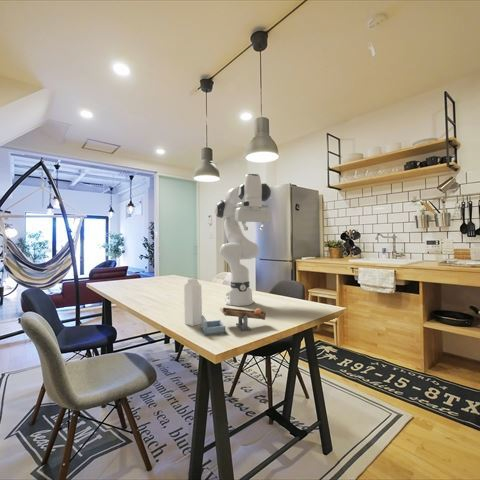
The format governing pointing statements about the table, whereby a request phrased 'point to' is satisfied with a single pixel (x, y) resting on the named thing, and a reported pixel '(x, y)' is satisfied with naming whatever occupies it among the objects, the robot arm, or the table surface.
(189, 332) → the table surface
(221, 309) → the lever
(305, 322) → the table surface
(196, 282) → the milk
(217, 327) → the light blue open box
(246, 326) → the pivot stand
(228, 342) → the table surface
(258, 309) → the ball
